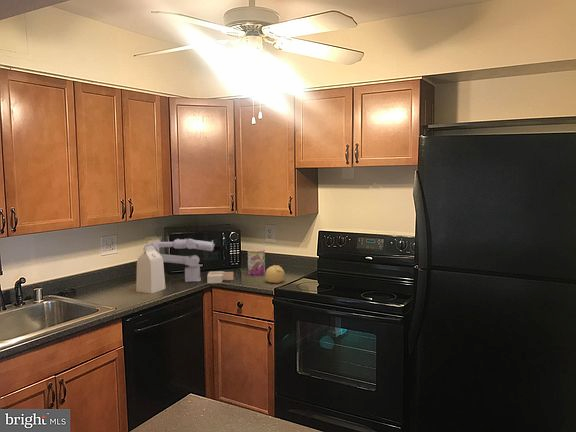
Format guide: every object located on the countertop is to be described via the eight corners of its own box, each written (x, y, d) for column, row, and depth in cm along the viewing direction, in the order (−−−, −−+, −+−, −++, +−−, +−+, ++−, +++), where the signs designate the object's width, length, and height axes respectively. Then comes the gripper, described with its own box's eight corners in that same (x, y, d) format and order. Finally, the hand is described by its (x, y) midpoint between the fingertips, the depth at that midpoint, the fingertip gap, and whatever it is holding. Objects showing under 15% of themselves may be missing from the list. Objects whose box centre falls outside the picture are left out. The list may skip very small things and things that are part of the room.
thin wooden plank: (211, 280, 297) (211, 272, 296) (211, 280, 297) (211, 272, 297) (233, 279, 298) (233, 272, 297) (233, 279, 299) (233, 271, 298)
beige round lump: (285, 283, 287) (285, 266, 286) (266, 284, 285) (265, 267, 284) (283, 279, 298) (283, 263, 297) (264, 280, 297) (264, 263, 296)
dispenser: (207, 283, 290) (207, 276, 290) (209, 278, 304) (208, 271, 303) (223, 283, 291) (222, 275, 290) (223, 278, 305) (223, 271, 304)
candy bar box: (247, 275, 313) (247, 251, 311) (248, 273, 318) (248, 249, 316) (264, 275, 312) (263, 251, 310) (265, 273, 317) (264, 249, 315)
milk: (150, 286, 283) (148, 244, 281) (165, 288, 278) (164, 245, 276) (136, 291, 272) (134, 247, 270) (151, 293, 267) (149, 248, 265)
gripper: (204, 240, 290) (225, 243, 291) (206, 238, 304) (227, 240, 306) (202, 251, 290) (224, 254, 292) (204, 248, 305) (225, 251, 306)
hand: (225, 248), depth 299 cm, fingers open, 7 cm apart
